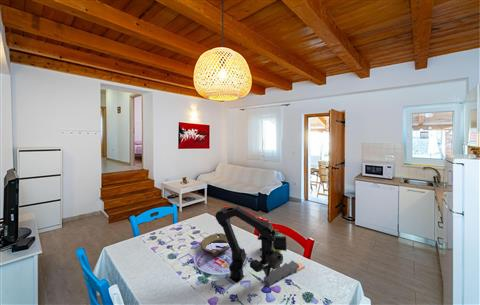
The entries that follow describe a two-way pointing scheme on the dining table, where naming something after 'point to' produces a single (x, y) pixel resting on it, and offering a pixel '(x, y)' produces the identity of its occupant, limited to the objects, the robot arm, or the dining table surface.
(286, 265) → the domino
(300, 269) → the tan rectangular block
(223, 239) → the olive oval ring
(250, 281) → the dining table surface
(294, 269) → the domino
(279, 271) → the domino
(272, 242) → the chalk box
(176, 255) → the dining table surface
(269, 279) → the domino
